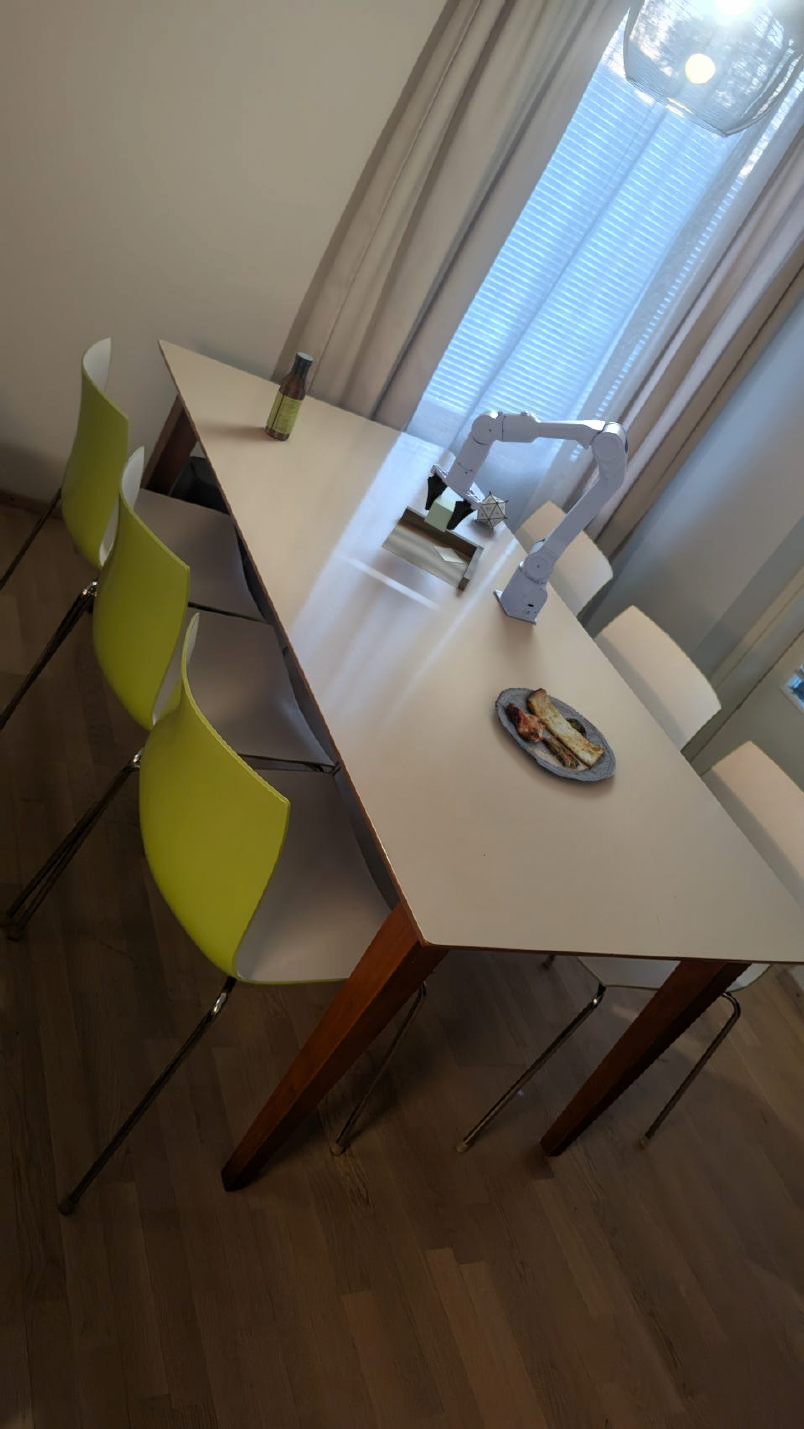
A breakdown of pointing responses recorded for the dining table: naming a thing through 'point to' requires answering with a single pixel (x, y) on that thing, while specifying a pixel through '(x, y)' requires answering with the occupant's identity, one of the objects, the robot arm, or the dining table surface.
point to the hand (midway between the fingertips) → (439, 519)
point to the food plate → (555, 733)
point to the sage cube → (440, 513)
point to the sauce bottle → (289, 399)
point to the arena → (434, 549)
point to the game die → (492, 511)
